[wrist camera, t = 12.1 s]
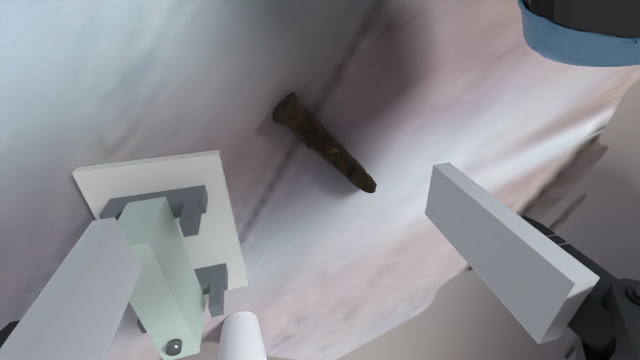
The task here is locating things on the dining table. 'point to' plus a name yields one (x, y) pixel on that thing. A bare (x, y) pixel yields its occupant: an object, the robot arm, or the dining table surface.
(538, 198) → the dining table surface
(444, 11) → the dining table surface
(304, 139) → the hand tool
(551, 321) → the robot arm
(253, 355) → the foam cup
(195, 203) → the clip rack
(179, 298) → the tapered bar with knob
